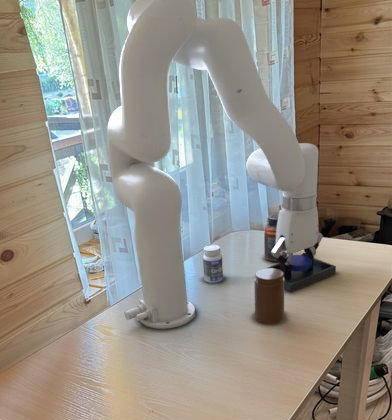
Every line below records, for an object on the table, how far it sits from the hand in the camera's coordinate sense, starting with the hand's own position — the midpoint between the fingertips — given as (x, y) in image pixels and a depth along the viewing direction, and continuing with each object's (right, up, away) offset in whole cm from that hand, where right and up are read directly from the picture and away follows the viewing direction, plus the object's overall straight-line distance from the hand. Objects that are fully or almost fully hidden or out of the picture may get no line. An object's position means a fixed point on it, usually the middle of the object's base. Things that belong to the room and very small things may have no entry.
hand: (296, 273), depth 127 cm
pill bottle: (-20, -1, +2) cm, 21 cm away
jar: (-9, -12, -16) cm, 22 cm away
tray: (0, -1, 0) cm, 1 cm away
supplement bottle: (-3, +6, +11) cm, 13 cm away
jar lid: (0, +3, -2) cm, 3 cm away
